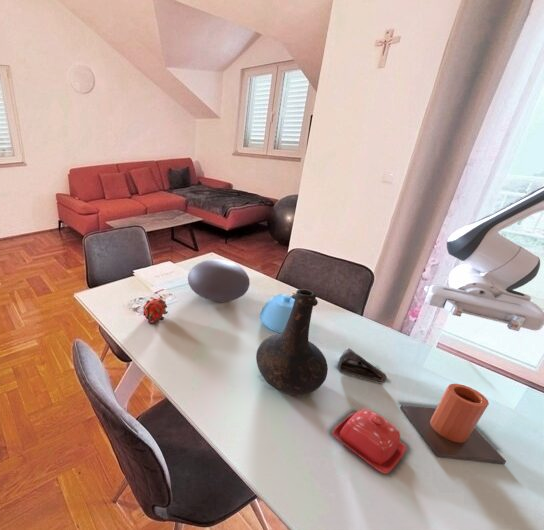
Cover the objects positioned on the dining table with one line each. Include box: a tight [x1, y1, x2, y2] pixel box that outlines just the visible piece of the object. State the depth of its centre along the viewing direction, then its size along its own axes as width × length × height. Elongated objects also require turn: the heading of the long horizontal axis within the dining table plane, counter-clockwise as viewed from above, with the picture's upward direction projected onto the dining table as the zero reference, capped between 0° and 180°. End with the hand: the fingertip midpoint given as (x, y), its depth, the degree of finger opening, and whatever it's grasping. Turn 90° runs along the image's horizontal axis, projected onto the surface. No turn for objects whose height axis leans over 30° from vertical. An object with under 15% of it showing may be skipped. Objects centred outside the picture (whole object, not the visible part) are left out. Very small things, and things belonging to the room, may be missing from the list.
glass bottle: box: [255, 288, 329, 396], centre depth 82 cm, size 18×18×28 cm
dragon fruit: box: [142, 297, 169, 324], centre depth 115 cm, size 8×8×12 cm
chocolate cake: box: [337, 347, 388, 385], centre depth 92 cm, size 10×7×12 cm
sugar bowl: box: [259, 293, 295, 334], centre depth 111 cm, size 15×15×12 cm
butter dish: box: [332, 408, 407, 475], centre depth 69 cm, size 12×12×8 cm
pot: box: [430, 383, 490, 443], centre depth 70 cm, size 6×6×11 cm
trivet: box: [399, 404, 507, 465], centre depth 73 cm, size 13×13×1 cm
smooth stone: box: [187, 259, 251, 303], centre depth 129 cm, size 25×25×15 cm
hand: (485, 320), depth 71 cm, fingers open, 8 cm apart
